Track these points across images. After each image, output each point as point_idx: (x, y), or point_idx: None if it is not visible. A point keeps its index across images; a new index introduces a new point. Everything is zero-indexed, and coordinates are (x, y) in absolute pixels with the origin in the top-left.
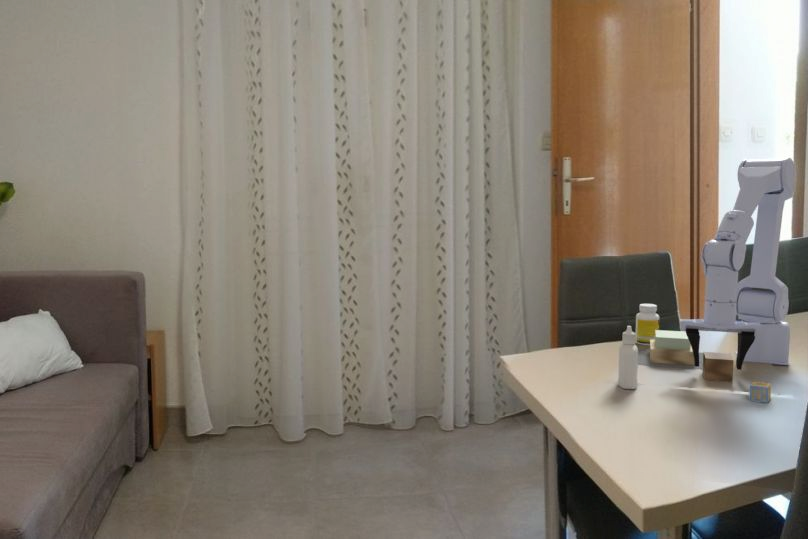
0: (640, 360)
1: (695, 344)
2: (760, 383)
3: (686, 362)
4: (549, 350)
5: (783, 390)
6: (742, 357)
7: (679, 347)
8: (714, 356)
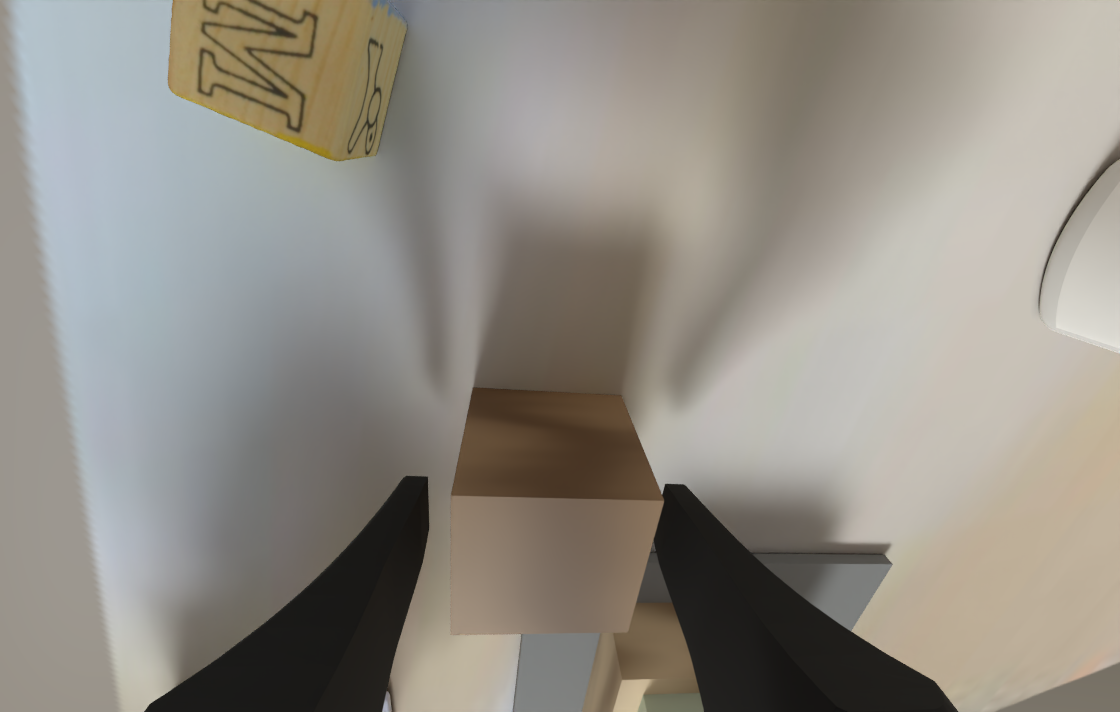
0: (832, 616)
1: (791, 618)
2: (265, 75)
3: (649, 614)
4: (1107, 662)
5: (172, 326)
6: (371, 537)
7: (702, 707)
8: (581, 555)
